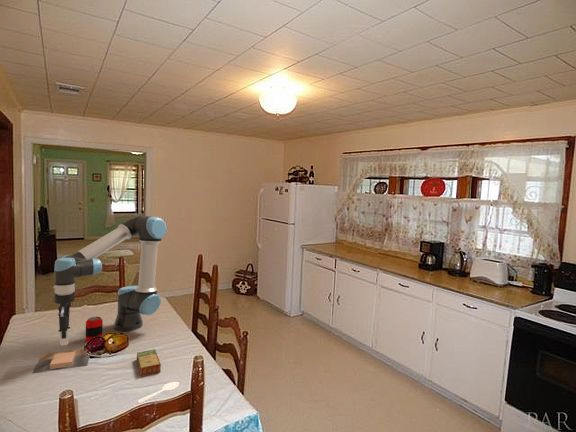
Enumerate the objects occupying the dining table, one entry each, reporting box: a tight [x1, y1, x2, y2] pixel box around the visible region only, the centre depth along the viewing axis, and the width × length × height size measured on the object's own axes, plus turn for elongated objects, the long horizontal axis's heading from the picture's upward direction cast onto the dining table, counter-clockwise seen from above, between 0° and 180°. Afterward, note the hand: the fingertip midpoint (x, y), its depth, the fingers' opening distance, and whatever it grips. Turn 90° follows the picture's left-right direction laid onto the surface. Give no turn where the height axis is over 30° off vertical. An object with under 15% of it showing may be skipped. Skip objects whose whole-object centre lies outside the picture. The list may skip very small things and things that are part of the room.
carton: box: [136, 348, 162, 377], centre depth 155 cm, size 8×16×4 cm, turn 29°
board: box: [31, 348, 91, 375], centre depth 154 cm, size 20×18×1 cm
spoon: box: [137, 381, 180, 404], centre depth 135 cm, size 5×18×1 cm, turn 144°
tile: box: [50, 352, 75, 369], centre depth 152 cm, size 8×2×10 cm
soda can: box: [85, 316, 104, 343], centre depth 176 cm, size 8×8×12 cm
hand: (64, 344), depth 153 cm, fingers closed
